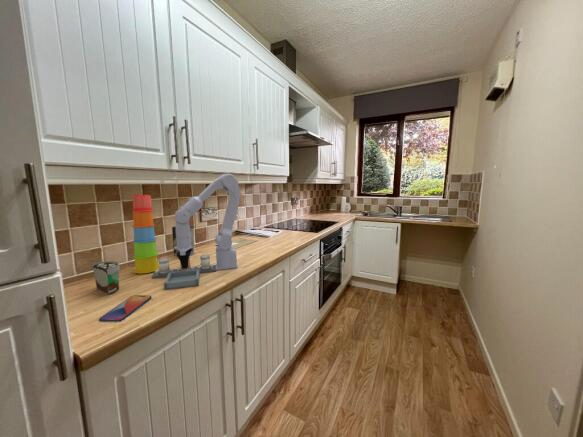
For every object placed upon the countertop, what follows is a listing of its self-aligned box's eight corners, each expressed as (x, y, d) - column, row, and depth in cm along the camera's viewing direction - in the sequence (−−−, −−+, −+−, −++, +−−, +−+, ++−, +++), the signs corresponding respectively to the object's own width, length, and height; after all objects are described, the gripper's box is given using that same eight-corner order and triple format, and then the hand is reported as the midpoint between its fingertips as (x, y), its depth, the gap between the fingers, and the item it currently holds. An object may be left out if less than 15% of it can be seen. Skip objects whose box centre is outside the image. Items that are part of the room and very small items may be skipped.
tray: (199, 274, 107) (199, 269, 106) (198, 285, 95) (198, 279, 95) (169, 277, 103) (168, 272, 103) (164, 289, 92) (164, 283, 91)
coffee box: (173, 256, 133) (171, 227, 131) (181, 252, 139) (179, 225, 137) (187, 257, 130) (185, 228, 128) (195, 254, 137) (193, 225, 134)
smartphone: (97, 322, 71) (96, 319, 71) (133, 297, 86) (132, 295, 86) (121, 323, 71) (121, 320, 71) (153, 298, 86) (152, 295, 86)
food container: (129, 289, 92) (126, 264, 90) (110, 296, 87) (107, 269, 85) (113, 282, 98) (110, 258, 96) (95, 288, 93) (91, 263, 91)
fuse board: (215, 266, 117) (215, 262, 117) (216, 271, 110) (215, 267, 110) (155, 272, 109) (154, 268, 108) (151, 278, 102) (151, 274, 102)
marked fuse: (190, 268, 112) (190, 255, 111) (190, 271, 108) (189, 258, 107) (181, 269, 111) (180, 256, 110) (180, 272, 107) (179, 259, 106)
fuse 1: (170, 270, 109) (169, 257, 108) (169, 273, 105) (168, 260, 105) (160, 271, 108) (159, 258, 107) (158, 274, 104) (157, 261, 103)
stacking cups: (128, 272, 109) (120, 195, 104) (150, 265, 118) (144, 194, 113) (143, 276, 105) (135, 195, 100) (164, 268, 114) (158, 194, 109)
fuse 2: (210, 266, 115) (209, 254, 114) (210, 269, 111) (209, 256, 110) (201, 267, 113) (200, 255, 112) (200, 270, 110) (200, 257, 109)
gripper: (175, 233, 113) (177, 262, 115) (171, 241, 99) (173, 273, 101) (192, 232, 115) (193, 260, 117) (189, 240, 101) (191, 271, 103)
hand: (185, 266), depth 109 cm, fingers closed on marked fuse, 4 cm apart
